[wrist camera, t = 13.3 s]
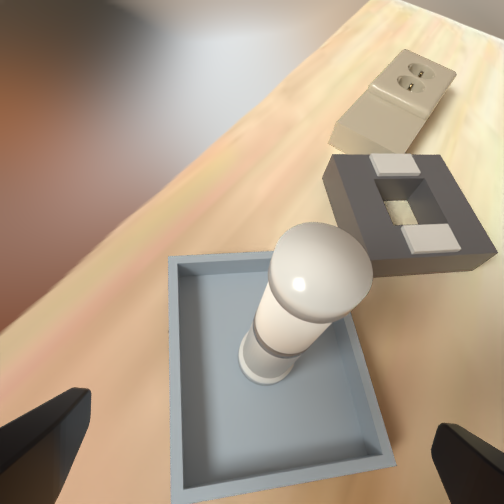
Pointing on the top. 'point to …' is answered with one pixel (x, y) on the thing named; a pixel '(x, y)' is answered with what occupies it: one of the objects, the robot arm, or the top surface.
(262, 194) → the top surface
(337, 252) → the light bulb
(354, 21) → the top surface
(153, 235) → the top surface
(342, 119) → the electrical outlet
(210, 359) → the parts tray
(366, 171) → the socket block
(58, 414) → the robot arm
